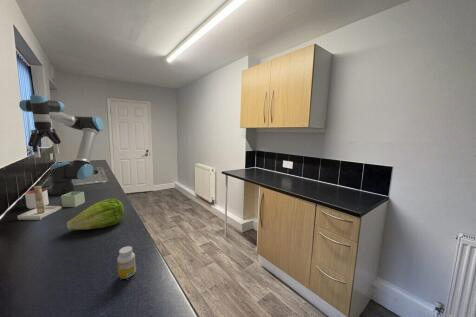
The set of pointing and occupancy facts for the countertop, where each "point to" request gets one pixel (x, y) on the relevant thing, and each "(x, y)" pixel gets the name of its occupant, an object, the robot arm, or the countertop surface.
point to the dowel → (39, 199)
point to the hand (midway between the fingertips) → (47, 155)
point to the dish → (35, 216)
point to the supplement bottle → (126, 262)
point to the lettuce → (98, 215)
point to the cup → (32, 201)
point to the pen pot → (72, 199)
